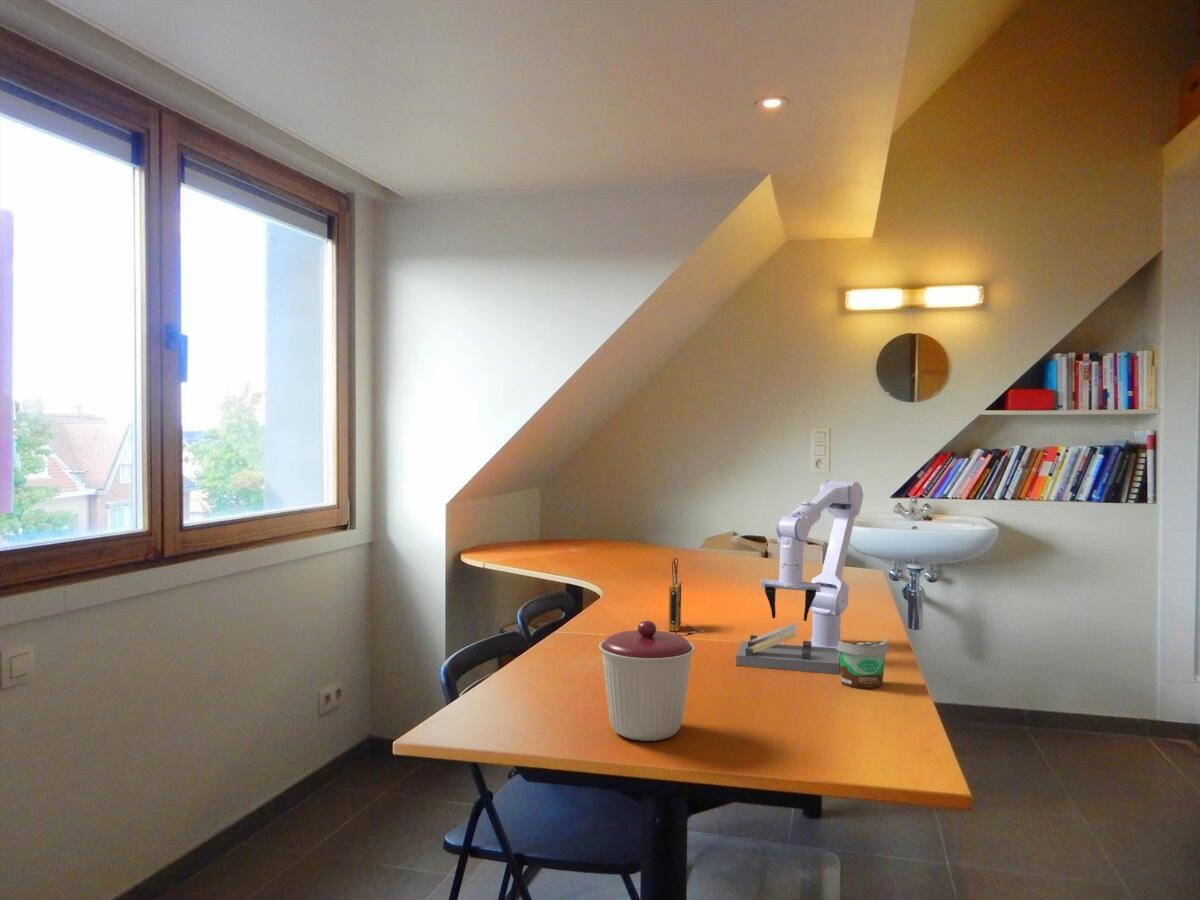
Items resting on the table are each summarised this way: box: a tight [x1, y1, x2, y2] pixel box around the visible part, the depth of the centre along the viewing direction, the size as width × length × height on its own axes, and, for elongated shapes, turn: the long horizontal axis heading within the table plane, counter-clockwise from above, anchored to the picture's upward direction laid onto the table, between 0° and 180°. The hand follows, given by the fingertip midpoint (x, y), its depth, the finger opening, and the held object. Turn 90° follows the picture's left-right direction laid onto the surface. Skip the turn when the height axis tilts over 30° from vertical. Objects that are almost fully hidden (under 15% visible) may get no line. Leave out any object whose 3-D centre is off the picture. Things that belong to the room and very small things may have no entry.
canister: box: [598, 620, 696, 742], centre depth 160 cm, size 18×18×21 cm
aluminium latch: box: [751, 622, 798, 645], centre depth 213 cm, size 12×4×1 cm, turn 74°
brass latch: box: [749, 630, 797, 653], centre depth 205 cm, size 12×4×1 cm, turn 74°
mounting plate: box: [735, 634, 840, 675], centre depth 208 cm, size 14×24×4 cm, turn 75°
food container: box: [836, 637, 890, 691], centre depth 189 cm, size 12×6×10 cm, turn 105°
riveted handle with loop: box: [668, 557, 705, 635], centre depth 239 cm, size 15×10×20 cm
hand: (789, 618), depth 211 cm, fingers open, 7 cm apart
